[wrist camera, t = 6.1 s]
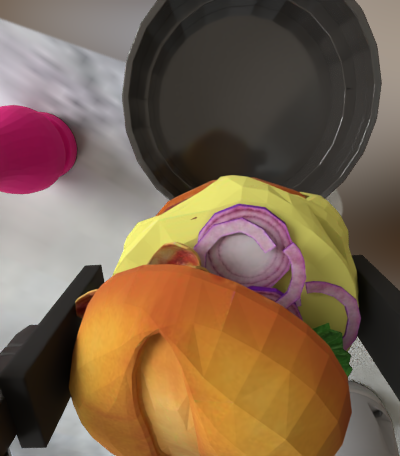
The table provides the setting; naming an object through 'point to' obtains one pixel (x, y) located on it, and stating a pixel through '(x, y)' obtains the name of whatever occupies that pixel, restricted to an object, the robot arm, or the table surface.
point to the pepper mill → (33, 149)
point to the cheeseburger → (222, 329)
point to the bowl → (251, 92)
